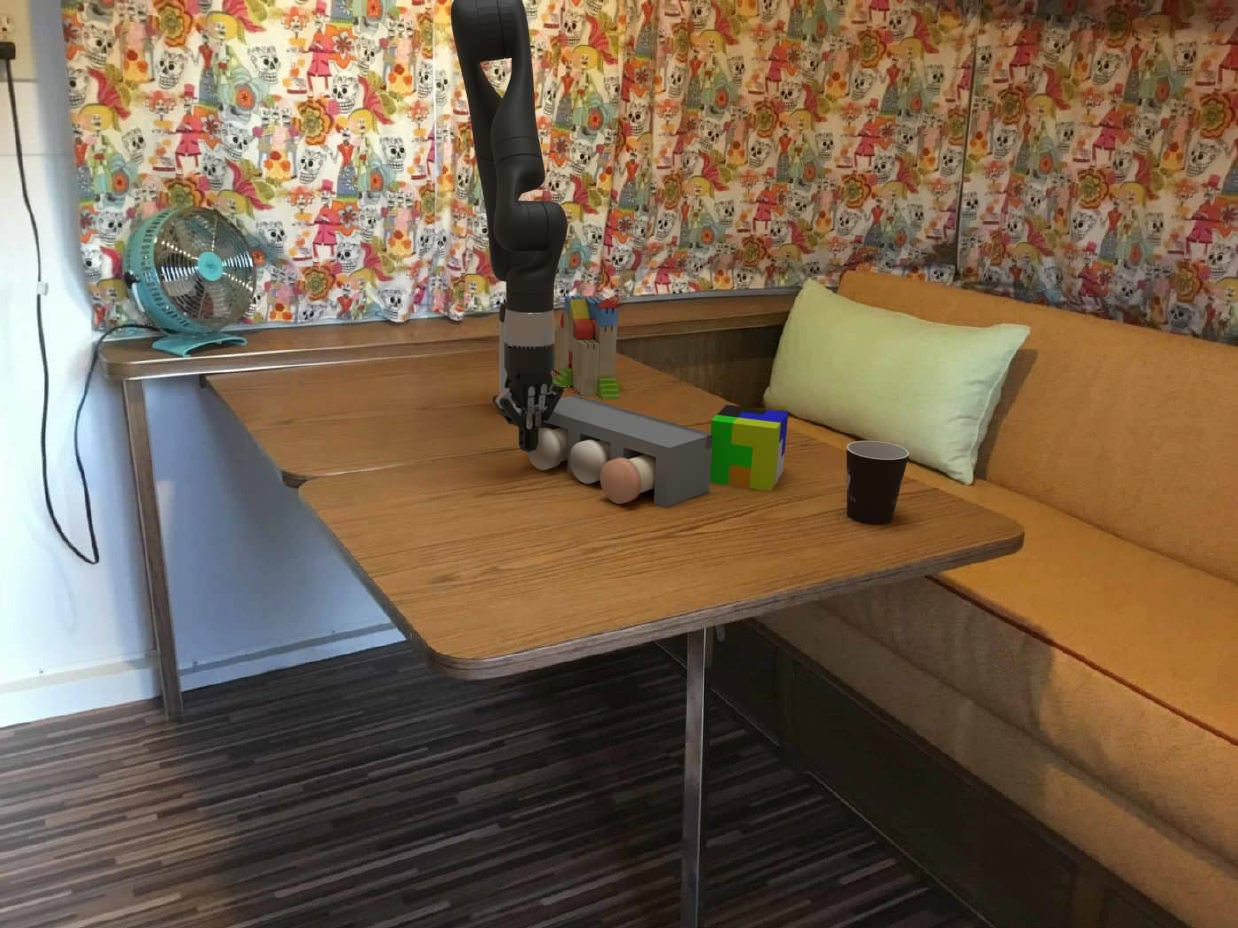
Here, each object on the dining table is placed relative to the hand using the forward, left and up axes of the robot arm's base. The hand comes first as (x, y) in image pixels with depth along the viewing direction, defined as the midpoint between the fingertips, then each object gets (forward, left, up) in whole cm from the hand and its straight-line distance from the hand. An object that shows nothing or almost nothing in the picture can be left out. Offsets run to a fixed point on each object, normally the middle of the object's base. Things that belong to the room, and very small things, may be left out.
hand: (528, 449), depth 157 cm
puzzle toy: (-25, +23, -4) cm, 35 cm away
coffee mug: (-26, +45, -4) cm, 52 cm away
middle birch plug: (-8, +9, -4) cm, 13 cm away
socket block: (-10, +9, -4) cm, 14 cm away
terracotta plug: (-5, +18, -4) cm, 19 cm away
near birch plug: (-7, 0, -4) cm, 8 cm away
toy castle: (-48, -36, -4) cm, 60 cm away
